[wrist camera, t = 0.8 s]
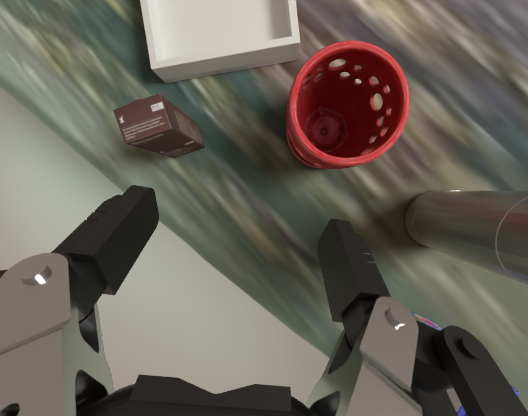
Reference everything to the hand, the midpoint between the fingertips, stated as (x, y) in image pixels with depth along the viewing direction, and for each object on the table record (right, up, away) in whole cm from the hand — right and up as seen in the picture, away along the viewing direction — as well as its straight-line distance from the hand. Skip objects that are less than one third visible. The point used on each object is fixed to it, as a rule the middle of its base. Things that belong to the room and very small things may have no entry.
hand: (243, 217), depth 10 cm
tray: (-6, +31, +24) cm, 39 cm away
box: (-12, +12, +26) cm, 31 cm away
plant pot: (+11, +13, +24) cm, 29 cm away
